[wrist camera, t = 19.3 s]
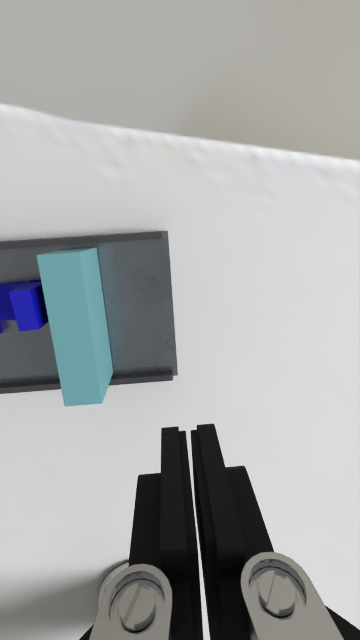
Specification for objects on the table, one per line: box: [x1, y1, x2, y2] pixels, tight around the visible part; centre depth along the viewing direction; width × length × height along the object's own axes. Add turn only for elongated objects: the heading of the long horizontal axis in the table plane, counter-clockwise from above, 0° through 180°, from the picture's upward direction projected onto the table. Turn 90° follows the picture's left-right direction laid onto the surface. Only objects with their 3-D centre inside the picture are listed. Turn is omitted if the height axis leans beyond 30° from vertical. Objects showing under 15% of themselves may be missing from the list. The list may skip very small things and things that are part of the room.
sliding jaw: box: [37, 247, 113, 406], centre depth 27 cm, size 12×3×6 cm, turn 4°
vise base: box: [0, 231, 178, 394], centre depth 27 cm, size 14×27×8 cm, turn 94°
